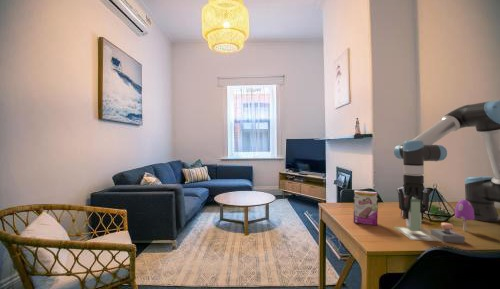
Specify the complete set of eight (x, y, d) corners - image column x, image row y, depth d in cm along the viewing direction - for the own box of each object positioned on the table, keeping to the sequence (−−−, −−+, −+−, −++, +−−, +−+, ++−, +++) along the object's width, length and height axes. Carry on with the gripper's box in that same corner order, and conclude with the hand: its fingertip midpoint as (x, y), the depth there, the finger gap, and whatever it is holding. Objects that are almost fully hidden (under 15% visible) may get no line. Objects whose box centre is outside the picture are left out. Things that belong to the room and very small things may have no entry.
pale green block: (415, 228, 106) (415, 197, 106) (420, 231, 102) (420, 199, 102) (406, 227, 107) (406, 197, 107) (411, 230, 103) (411, 199, 103)
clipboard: (437, 229, 111) (437, 228, 111) (463, 243, 95) (463, 242, 95) (392, 227, 114) (392, 226, 114) (410, 240, 98) (410, 239, 98)
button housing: (450, 235, 103) (450, 229, 103) (464, 242, 95) (464, 236, 95) (430, 234, 104) (430, 228, 104) (443, 241, 96) (443, 235, 96)
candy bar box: (353, 223, 120) (353, 191, 120) (353, 220, 125) (353, 190, 125) (378, 226, 115) (377, 193, 116) (377, 223, 120) (377, 191, 120)
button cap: (448, 232, 101) (448, 222, 101) (455, 235, 97) (455, 225, 97) (438, 231, 102) (438, 222, 102) (445, 235, 98) (445, 225, 98)
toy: (476, 235, 104) (476, 202, 104) (456, 232, 107) (456, 200, 107) (472, 230, 109) (472, 199, 109) (453, 228, 113) (453, 197, 113)
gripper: (428, 173, 107) (428, 224, 107) (389, 173, 110) (390, 222, 109) (439, 175, 100) (439, 230, 100) (397, 175, 102) (397, 228, 102)
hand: (413, 226), depth 105 cm, fingers closed on pale green block, 4 cm apart
